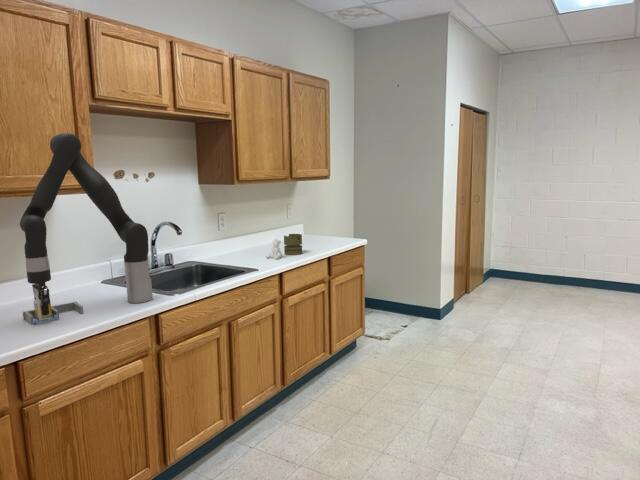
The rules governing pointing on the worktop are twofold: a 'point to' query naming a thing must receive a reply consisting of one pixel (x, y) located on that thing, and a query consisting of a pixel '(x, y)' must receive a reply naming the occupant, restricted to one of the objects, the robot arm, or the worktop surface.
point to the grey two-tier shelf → (54, 311)
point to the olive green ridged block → (293, 244)
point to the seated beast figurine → (275, 251)
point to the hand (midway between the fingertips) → (43, 313)
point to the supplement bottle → (39, 312)
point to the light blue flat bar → (45, 320)
